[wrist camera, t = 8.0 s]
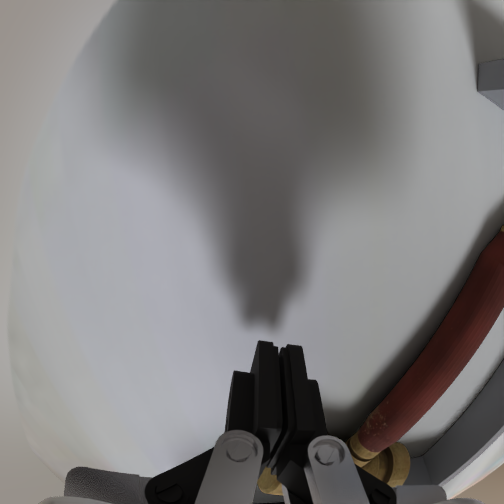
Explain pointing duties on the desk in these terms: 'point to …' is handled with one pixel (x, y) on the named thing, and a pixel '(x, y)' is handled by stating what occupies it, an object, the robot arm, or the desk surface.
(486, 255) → the gavel
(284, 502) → the device stand
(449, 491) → the desk surface
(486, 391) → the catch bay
